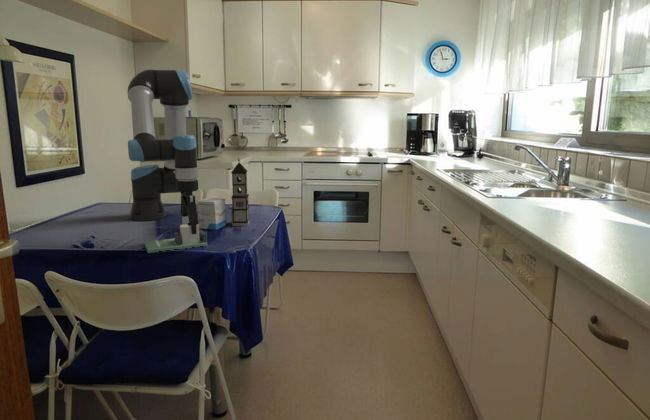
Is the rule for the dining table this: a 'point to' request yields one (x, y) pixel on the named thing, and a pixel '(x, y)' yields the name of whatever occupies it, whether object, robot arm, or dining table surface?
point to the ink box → (211, 213)
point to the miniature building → (240, 197)
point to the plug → (186, 233)
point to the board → (174, 243)
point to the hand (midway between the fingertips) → (190, 238)
